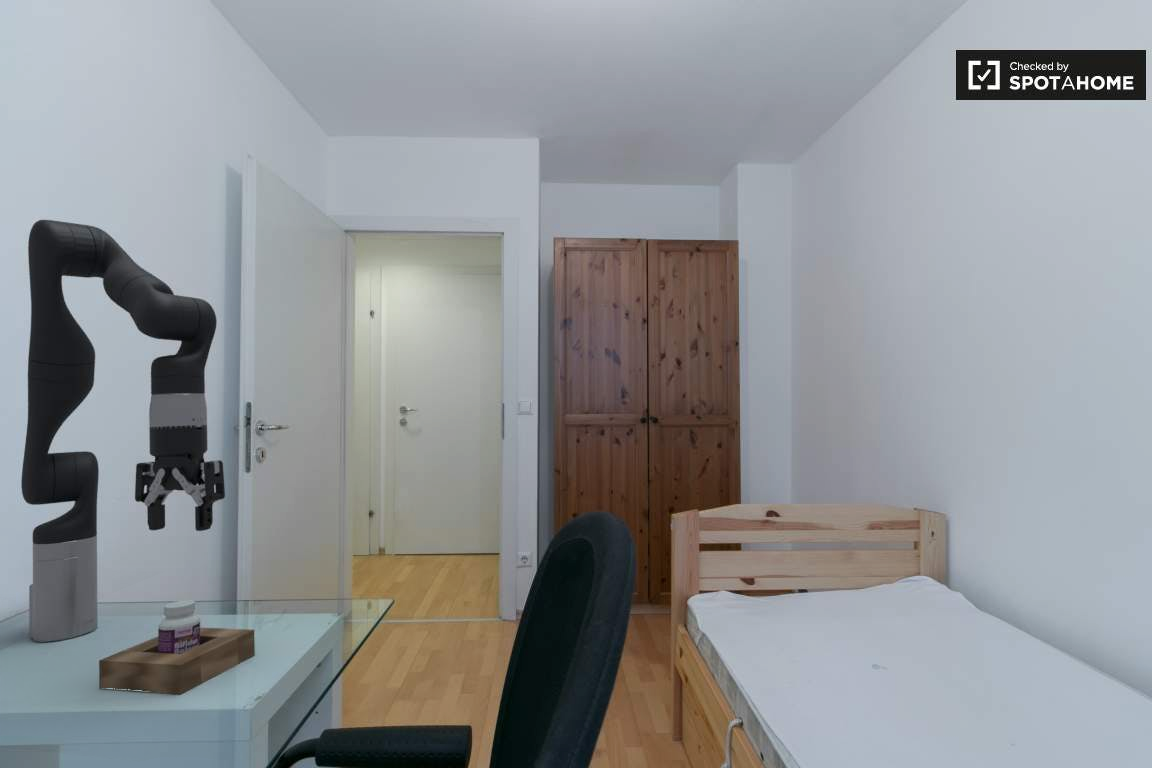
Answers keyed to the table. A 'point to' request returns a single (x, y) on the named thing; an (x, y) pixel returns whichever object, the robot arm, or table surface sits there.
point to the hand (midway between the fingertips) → (180, 529)
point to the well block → (176, 662)
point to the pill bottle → (179, 628)
